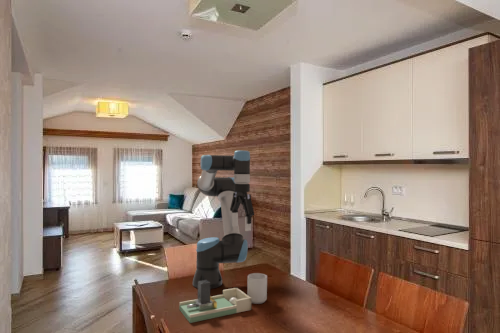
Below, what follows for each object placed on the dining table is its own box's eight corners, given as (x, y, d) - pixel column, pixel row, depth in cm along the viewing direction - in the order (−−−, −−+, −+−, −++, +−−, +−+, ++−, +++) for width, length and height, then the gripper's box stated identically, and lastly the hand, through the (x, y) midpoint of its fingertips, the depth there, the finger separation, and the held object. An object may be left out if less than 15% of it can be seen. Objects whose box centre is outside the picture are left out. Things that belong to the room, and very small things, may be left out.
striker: (184, 306, 140) (184, 281, 140) (209, 301, 145) (209, 277, 145) (190, 313, 133) (190, 287, 133) (216, 308, 138) (217, 283, 138)
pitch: (179, 309, 142) (179, 297, 142) (236, 298, 155) (236, 287, 155) (189, 323, 129) (190, 310, 130) (251, 309, 142) (251, 297, 142)
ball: (235, 295, 149) (235, 303, 149) (228, 297, 147) (228, 305, 147) (239, 298, 145) (239, 306, 145) (231, 299, 144) (231, 308, 144)
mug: (261, 306, 146) (262, 280, 147) (243, 302, 150) (244, 277, 151) (272, 296, 157) (272, 273, 157) (255, 293, 161) (255, 270, 161)
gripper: (223, 182, 167) (223, 224, 167) (247, 184, 146) (246, 233, 145) (237, 182, 171) (236, 223, 171) (262, 184, 149) (261, 232, 149)
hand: (241, 228), depth 158 cm, fingers open, 13 cm apart
